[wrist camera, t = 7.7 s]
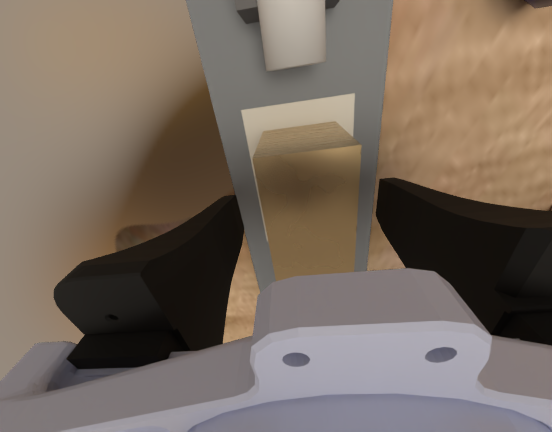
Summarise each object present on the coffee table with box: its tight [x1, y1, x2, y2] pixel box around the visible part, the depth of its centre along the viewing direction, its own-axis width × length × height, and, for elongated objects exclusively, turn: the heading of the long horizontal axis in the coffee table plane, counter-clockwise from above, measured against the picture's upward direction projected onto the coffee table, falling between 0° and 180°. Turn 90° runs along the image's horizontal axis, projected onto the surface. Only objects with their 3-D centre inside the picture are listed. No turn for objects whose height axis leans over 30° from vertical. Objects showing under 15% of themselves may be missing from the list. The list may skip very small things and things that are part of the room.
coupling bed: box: [186, 0, 393, 293], centre depth 13 cm, size 22×9×5 cm, turn 8°
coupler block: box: [252, 121, 362, 281], centre depth 12 cm, size 7×4×5 cm, turn 8°
